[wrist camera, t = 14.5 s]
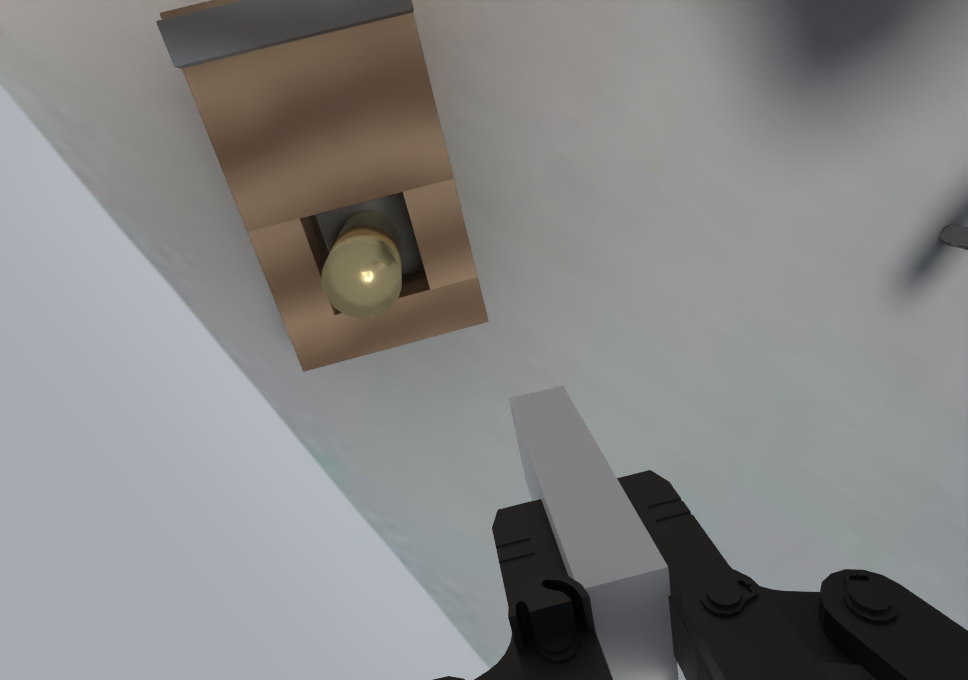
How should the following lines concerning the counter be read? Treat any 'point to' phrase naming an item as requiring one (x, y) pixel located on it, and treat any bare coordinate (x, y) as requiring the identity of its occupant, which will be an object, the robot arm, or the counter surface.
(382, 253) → the brass cylinder
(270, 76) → the jig
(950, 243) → the mechanical component
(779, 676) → the robot arm
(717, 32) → the counter surface
